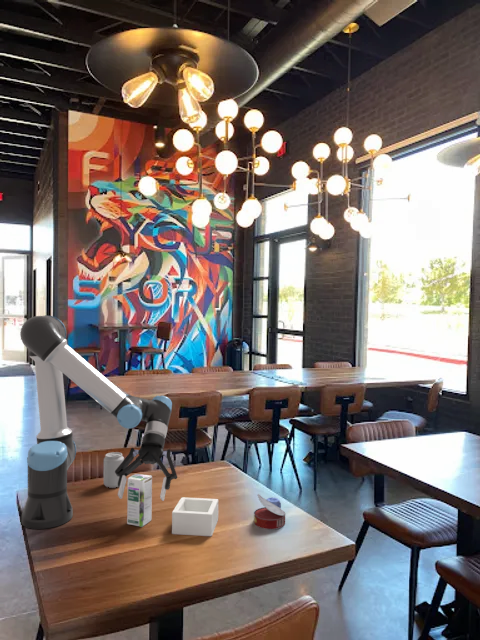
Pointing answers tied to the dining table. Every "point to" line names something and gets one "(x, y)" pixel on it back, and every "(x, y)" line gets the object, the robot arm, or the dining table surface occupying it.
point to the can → (112, 469)
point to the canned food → (269, 515)
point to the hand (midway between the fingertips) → (140, 497)
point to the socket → (195, 516)
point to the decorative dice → (275, 501)
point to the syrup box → (139, 500)
